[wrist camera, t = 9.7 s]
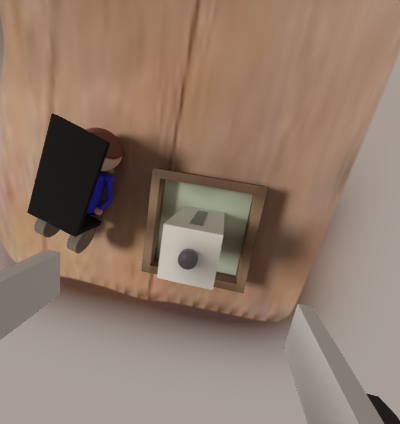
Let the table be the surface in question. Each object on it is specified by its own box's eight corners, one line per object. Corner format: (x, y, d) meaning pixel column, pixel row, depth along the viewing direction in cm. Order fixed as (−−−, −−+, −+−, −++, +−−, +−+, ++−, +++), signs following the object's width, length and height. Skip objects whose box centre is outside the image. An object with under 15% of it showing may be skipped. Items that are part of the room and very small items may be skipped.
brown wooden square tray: (160, 168, 26) (152, 168, 23) (263, 185, 25) (267, 187, 22) (150, 261, 29) (141, 271, 26) (241, 280, 28) (243, 293, 25)
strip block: (185, 205, 26) (161, 225, 16) (224, 212, 25) (223, 237, 16) (179, 243, 27) (154, 281, 17) (217, 250, 26) (212, 294, 17)
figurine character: (109, 238, 31) (140, 143, 26) (70, 265, 24) (103, 141, 19) (70, 218, 31) (94, 120, 26) (20, 239, 24) (39, 109, 19)
